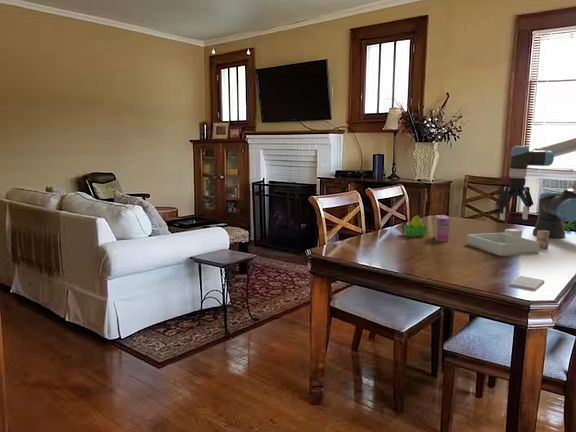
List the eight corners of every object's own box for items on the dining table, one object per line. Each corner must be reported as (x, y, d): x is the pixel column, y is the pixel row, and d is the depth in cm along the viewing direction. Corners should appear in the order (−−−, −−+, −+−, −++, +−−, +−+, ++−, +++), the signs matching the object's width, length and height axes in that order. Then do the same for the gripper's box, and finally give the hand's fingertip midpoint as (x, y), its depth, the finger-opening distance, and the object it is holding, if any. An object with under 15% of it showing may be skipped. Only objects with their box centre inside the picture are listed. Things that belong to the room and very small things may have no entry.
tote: (501, 242, 230) (502, 232, 229) (539, 253, 207) (540, 242, 206) (466, 244, 225) (467, 234, 224) (501, 255, 202) (501, 244, 201)
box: (448, 241, 231) (449, 218, 229) (436, 241, 232) (437, 218, 231) (445, 237, 241) (446, 215, 240) (434, 237, 242) (435, 215, 241)
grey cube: (513, 239, 238) (514, 228, 237) (521, 241, 233) (521, 230, 232) (504, 239, 237) (504, 229, 236) (511, 242, 232) (512, 231, 231)
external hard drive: (544, 284, 163) (534, 292, 154) (519, 279, 168) (508, 287, 159) (544, 280, 163) (534, 287, 153) (519, 275, 168) (508, 282, 159)
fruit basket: (425, 234, 250) (426, 214, 248) (427, 237, 241) (428, 216, 239) (403, 233, 252) (404, 213, 250) (404, 237, 243) (405, 215, 241)
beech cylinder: (542, 246, 221) (543, 230, 220) (550, 248, 216) (551, 231, 215) (533, 247, 220) (534, 230, 219) (541, 249, 215) (543, 232, 214)
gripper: (532, 176, 237) (528, 217, 240) (490, 176, 230) (487, 218, 234) (544, 177, 230) (539, 220, 233) (501, 177, 223) (497, 221, 227)
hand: (513, 219), depth 233 cm, fingers open, 13 cm apart
